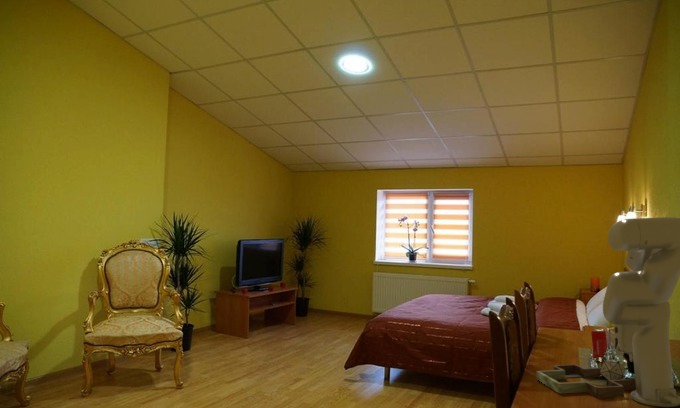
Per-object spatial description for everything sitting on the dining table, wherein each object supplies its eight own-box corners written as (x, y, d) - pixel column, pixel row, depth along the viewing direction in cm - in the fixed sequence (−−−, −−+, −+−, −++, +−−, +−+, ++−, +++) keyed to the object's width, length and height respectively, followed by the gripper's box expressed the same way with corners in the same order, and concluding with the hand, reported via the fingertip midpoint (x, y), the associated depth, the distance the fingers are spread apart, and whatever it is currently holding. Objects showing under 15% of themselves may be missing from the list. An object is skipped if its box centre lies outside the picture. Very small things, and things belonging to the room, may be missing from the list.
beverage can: (600, 363, 181) (598, 331, 182) (590, 360, 186) (588, 329, 187) (611, 361, 183) (608, 330, 184) (600, 358, 188) (598, 328, 189)
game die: (620, 395, 155) (635, 375, 150) (594, 385, 157) (607, 365, 152) (616, 375, 163) (630, 356, 157) (591, 366, 164) (604, 346, 159)
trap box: (662, 394, 144) (661, 384, 144) (569, 399, 142) (568, 389, 142) (608, 371, 171) (607, 362, 171) (528, 375, 169) (528, 366, 169)
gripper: (614, 320, 155) (619, 376, 153) (657, 318, 156) (663, 374, 154) (601, 317, 162) (605, 370, 161) (642, 315, 163) (647, 368, 161)
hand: (633, 372), depth 157 cm, fingers closed
